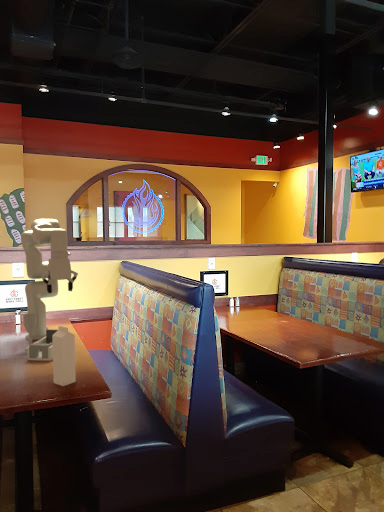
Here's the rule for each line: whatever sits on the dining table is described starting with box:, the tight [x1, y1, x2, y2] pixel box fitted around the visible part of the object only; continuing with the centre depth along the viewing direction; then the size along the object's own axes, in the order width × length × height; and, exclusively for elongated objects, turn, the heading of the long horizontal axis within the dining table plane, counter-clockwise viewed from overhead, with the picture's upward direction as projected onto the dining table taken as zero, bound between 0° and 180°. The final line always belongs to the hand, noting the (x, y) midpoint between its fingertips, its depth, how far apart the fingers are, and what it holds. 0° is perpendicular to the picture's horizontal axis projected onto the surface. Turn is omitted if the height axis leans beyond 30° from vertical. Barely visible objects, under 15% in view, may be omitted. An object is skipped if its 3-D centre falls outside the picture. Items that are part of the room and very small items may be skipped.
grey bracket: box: [26, 336, 53, 362], centre depth 199 cm, size 21×11×7 cm, turn 175°
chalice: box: [22, 312, 37, 352], centre depth 205 cm, size 7×7×18 cm
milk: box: [52, 325, 77, 387], centre depth 159 cm, size 6×6×22 cm
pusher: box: [39, 328, 59, 352], centre depth 198 cm, size 17×8×9 cm, turn 175°
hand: (60, 291), depth 192 cm, fingers open, 9 cm apart
